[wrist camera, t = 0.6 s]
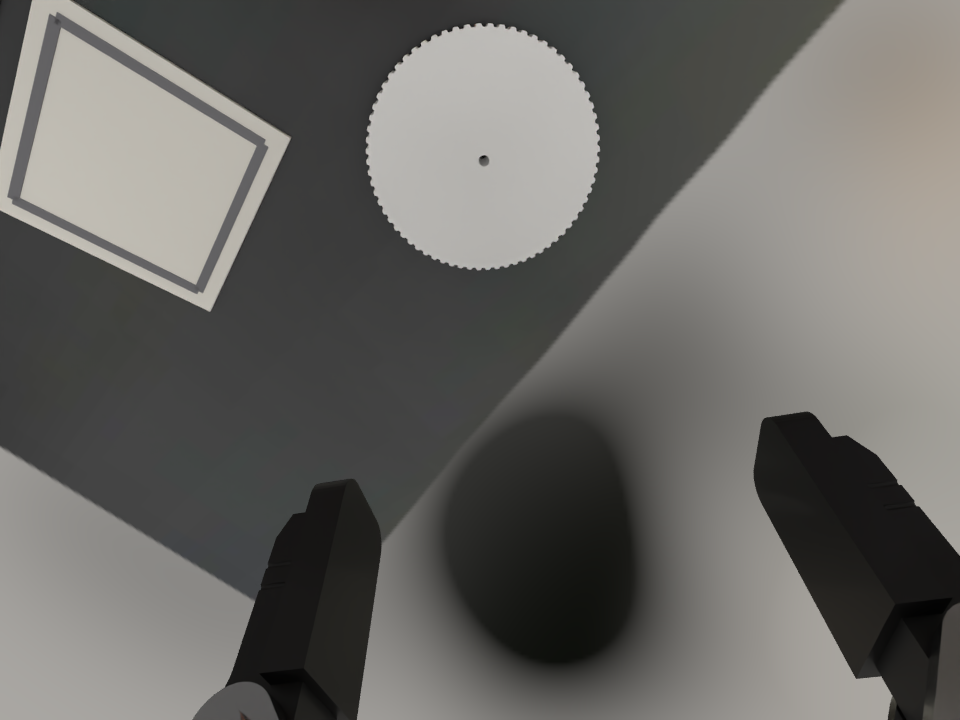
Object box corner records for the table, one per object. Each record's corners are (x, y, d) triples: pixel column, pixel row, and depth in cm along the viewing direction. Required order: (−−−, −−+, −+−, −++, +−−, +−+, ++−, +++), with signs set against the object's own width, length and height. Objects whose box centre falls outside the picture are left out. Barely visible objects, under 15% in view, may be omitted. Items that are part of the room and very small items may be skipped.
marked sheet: (-9, 203, 34) (-13, 204, 34) (40, -20, 28) (35, -21, 28) (211, 309, 39) (209, 312, 38) (291, 137, 33) (290, 138, 32)
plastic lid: (374, 4, 30) (369, 2, 28) (615, 43, 31) (627, 45, 29) (367, 244, 37) (363, 258, 35) (563, 266, 39) (570, 280, 37)
